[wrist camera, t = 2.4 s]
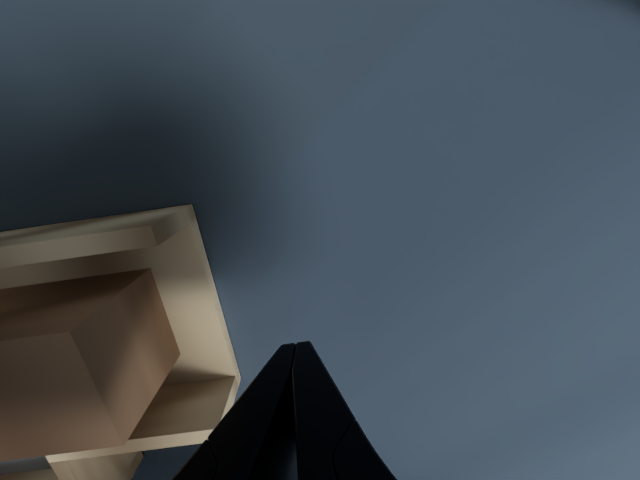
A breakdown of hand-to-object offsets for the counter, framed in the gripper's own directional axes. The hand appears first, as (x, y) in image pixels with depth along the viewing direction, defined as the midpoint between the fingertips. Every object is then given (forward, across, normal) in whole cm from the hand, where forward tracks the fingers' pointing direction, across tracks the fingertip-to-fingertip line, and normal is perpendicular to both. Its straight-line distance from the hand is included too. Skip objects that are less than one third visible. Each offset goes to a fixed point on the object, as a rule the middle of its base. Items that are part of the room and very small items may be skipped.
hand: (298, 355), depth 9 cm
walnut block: (+3, +8, 0) cm, 9 cm away
